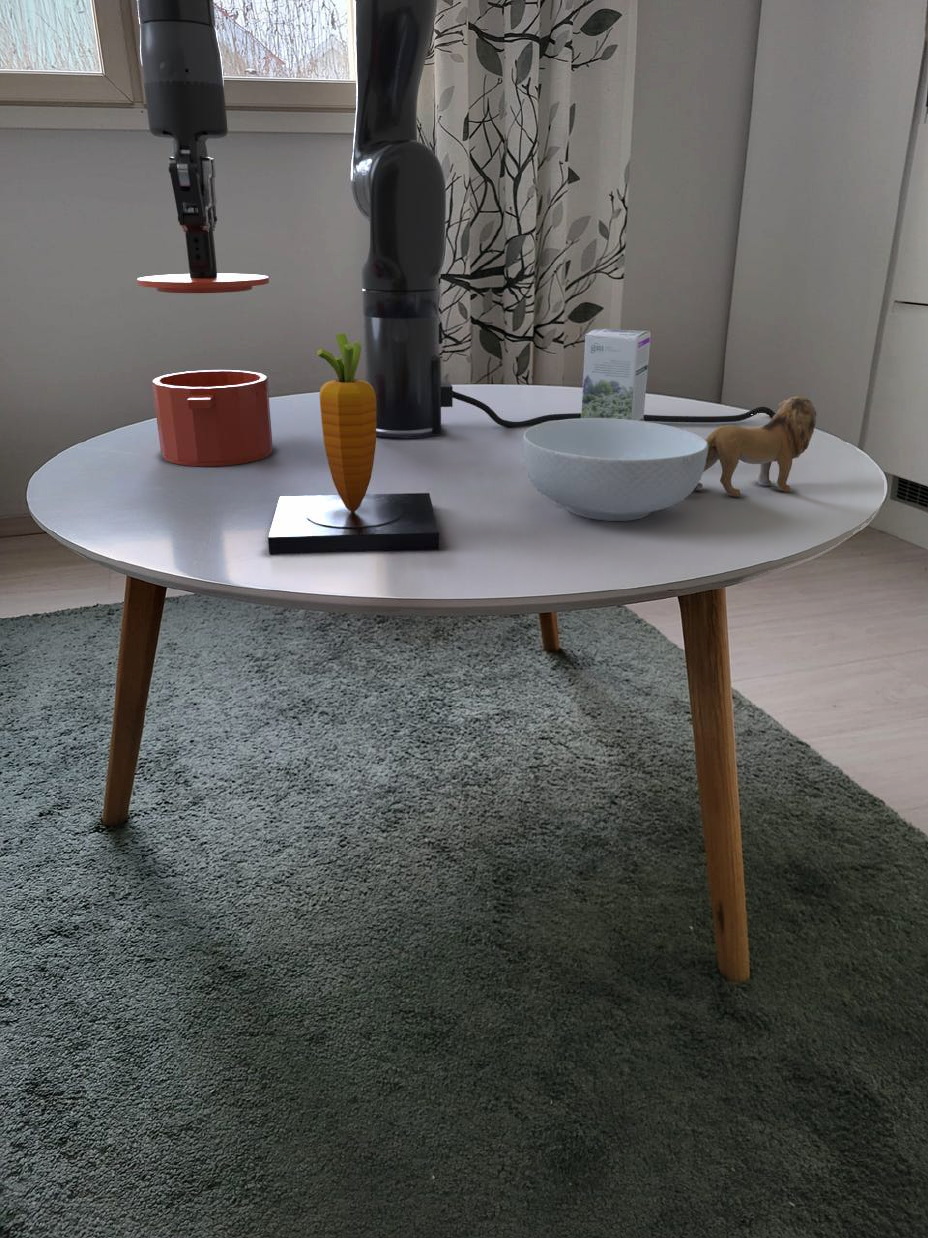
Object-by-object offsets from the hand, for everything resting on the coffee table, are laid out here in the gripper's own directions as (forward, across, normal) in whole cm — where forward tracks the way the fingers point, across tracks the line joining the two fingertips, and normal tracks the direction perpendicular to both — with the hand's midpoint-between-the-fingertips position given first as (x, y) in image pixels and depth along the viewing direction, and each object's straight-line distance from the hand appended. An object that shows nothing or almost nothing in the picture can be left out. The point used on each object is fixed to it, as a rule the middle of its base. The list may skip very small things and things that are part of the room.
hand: (203, 269), depth 98 cm
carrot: (+19, -27, -15) cm, 36 cm away
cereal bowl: (+20, -23, -39) cm, 50 cm away
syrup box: (+21, -7, -43) cm, 48 cm away
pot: (+20, +3, +1) cm, 20 cm away
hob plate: (+20, -27, -15) cm, 37 cm away
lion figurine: (+21, -17, -55) cm, 61 cm away
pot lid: (+1, 0, 0) cm, 1 cm away
